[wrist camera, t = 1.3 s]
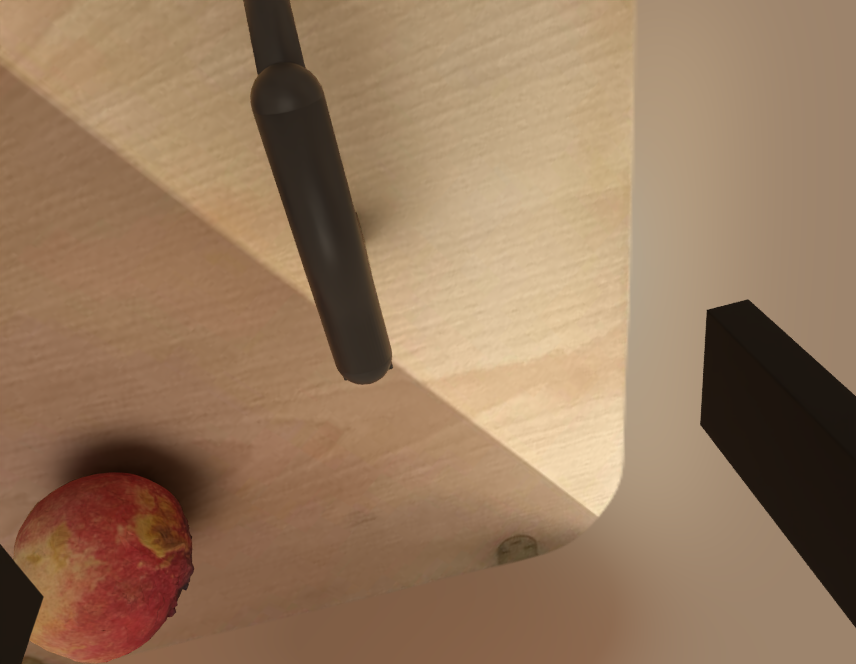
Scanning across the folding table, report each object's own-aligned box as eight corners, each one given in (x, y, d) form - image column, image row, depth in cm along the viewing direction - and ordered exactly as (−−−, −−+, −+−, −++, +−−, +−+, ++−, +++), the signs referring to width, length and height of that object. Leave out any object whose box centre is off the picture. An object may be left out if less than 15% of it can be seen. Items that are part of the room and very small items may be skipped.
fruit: (61, 417, 32) (3, 560, 25) (226, 457, 34) (214, 594, 28) (23, 530, 35) (-37, 683, 28) (177, 558, 38) (156, 702, 31)
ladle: (66, -333, 19) (-99, -493, 10) (285, -378, 19) (288, -569, 11) (278, 268, 29) (277, 419, 21) (415, 234, 30) (466, 371, 21)
